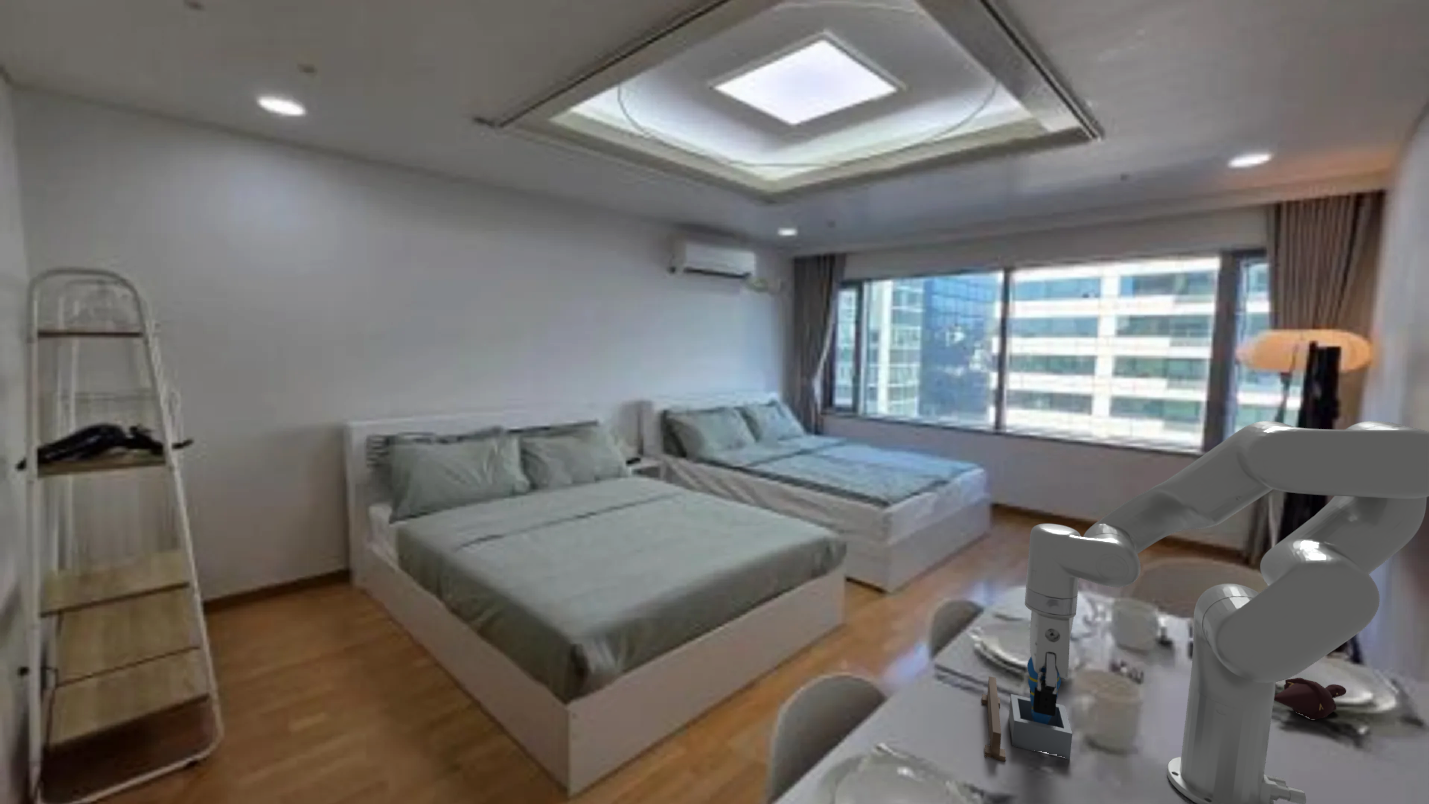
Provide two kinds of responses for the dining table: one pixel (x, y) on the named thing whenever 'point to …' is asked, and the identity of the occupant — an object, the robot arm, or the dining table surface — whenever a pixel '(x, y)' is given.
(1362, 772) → the dining table surface
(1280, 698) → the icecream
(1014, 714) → the holder
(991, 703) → the rail
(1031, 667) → the ornament
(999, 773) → the dining table surface
